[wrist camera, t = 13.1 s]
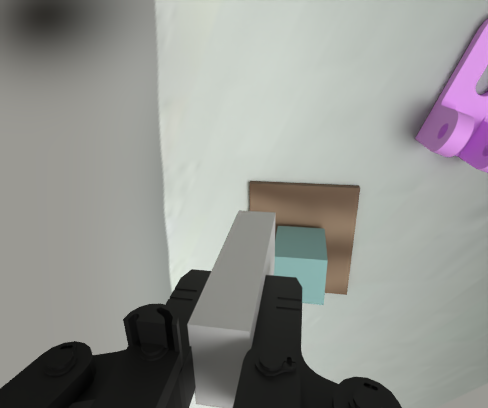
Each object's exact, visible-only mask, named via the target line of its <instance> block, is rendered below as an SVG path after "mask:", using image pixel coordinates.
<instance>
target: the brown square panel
mask: <svg viewBox="0 0 488 408" xmlns="http://www.w3.org/2000/svg"><path fill="white" fill-rule="evenodd" d="M359 192H360V187H359V186H354V185H331V184H307V183H283V182H260V181H250V211H257V212H275V239H276V233H277V228H278V226H290V227H306V228H323V229H325V238H326V249H327V259H328V262H327V273H326V284H325V293H334V294H345V295H347V288H348V280H349V272H350V264H351V256H352V248H353V240H354V232H355V224H356V216H357V208H358V200H359Z"/></svg>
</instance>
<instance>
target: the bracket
mask: <svg viewBox="0 0 488 408" xmlns="http://www.w3.org/2000/svg"><path fill="white" fill-rule="evenodd" d="M487 65H488V19H487V20H486V21H485V22H484V23H483V24H482V25H481V26H480V28H479V29H478V31H477V32H476V34H475V36H474V37H473V39H472V41H471V43H470V44H469V46H468V48H467V49H466V51H465V53H464V55H463V56H462V58H461V60H460V62H459V63H458V65H457V67H456V68H455V70H454V72H453V74H452V75H451V77H450V79H449V81H448V82H447V84H446V86H445V87H444V89H443V91H442V93H441V94H440V96H439V98H438V100H437V101H436V103H435V105H434V106H433V108H432V110H431V112H430V113H429V115H428V117H427V119H426V120H425V122H424V124H423V125H422V127H421V129H420V131H419V132H418V134H417V136H416V138H415V139H416V140H417V141H418V142H420V143H421V144H422V145H424V146H425V147H426V148H428V149H429V150H430V151H432V152H435V153H437V154H440V155H442V156H445V157H452V156H454V155H455V156H457V157H459V158H461V159H462V160H464V161H466V162H467V163H469V164H470V165H472V166H473V167H475V168H476V169H479V170H481V171H484V172H487V173H488V91H487V92H486V93H484V94H482V95H478V94H477V93H476V90H475V86H476V83H477V81H478V80H479V78H480V77H481V75H482V73H483V72H484V70H485V68H486V67H487Z"/></svg>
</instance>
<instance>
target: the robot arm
mask: <svg viewBox="0 0 488 408" xmlns="http://www.w3.org/2000/svg"><path fill="white" fill-rule="evenodd" d="M274 264H275V212H257V211H239V212H238V214H237V216H236V218H235V220H234V223H233V225H232V227H231V229H230V231H229V234H228V236H227V238H226V240H225V242H224V245H223V247H222V249H221V251H220V254H219V256H218V258H217V260H216V262H215V265H214V267H213V269H212V271H204V270H191V271H189V272H188V273H187V274H185V275H184V276H183V277H181V279H180V280H179V282H178V284H177V286H176V287H175V290H174V291H173V292H172V294H171V296H170V299H168V301H167V303H166V305H164V304H148V305H145V306H141V307H139V308H137V309H135V310H133V311H132V312H130V313H129V314H128V315H127V316H126V317H125V318H124V319H123V321H124V326H125V331H126V336H127V341H128V347H127V349H126V350H122V351H118V352H113V353H106V354H100V355H92V352H91V349H90V347H89V346H87V345H86V344H85V343H81V342H75V341H74V342H68V343H63V344H60V345H58V346H55V347H53V348H51V349H49V350H48V351H46V352H45V353H43V354H42V355H41V356H39V357H38V358H37V359H36V360H35V361H33V362H32V363H31V364H30V365H29V366H27V367H26V368H25V369H24V370H23V371H21V372H20V373H19V374H18V375H16V376H15V377H14V378H13V379H12V380H10V381H9V382H8V383H7V384H5V385H4V386H3V387H2V388H1V389H0V408H189V406H190V403H191V400H192V397H193V394H194V391H195V399H196V404H200V405H206V406H213V407H219V408H402V407H401V405H400V403H399V402H398V400H397V399H396V398H395V396H394V395H393V394H392V392H391V391H389V390H388V389H387V388H386V387H384V386H383V385H382V384H380V383H378V382H376V381H374V380H371V379H369V378H363V377H352V378H348V379H344V380H343V381H342V382H341V383H340V384H337V383H335V382H332V381H330V380H328V379H325V378H323V377H322V376H320V375H318V374H316V373H315V372H314V371H313V370H312V369H310V368H309V366H308V365H307V364H306V363H305V361H304V359H303V356H302V353H301V326H302V289H303V288H302V286H301V284H300V283H299V281H298V279H297V278H296V277H286V276H274Z"/></svg>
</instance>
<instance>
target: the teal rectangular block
mask: <svg viewBox="0 0 488 408" xmlns="http://www.w3.org/2000/svg"><path fill="white" fill-rule="evenodd" d="M327 262H328V259H327V249H326V238H325V229H323V228H306V227H290V226H278V228H277V233H276V239H275V264H274V276H286V277H296V278H297V279H298V281H299V283H300V284H301V286H302V288H303V289H302V303H309V304H319V305H324V295H325V284H326V273H327Z"/></svg>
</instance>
